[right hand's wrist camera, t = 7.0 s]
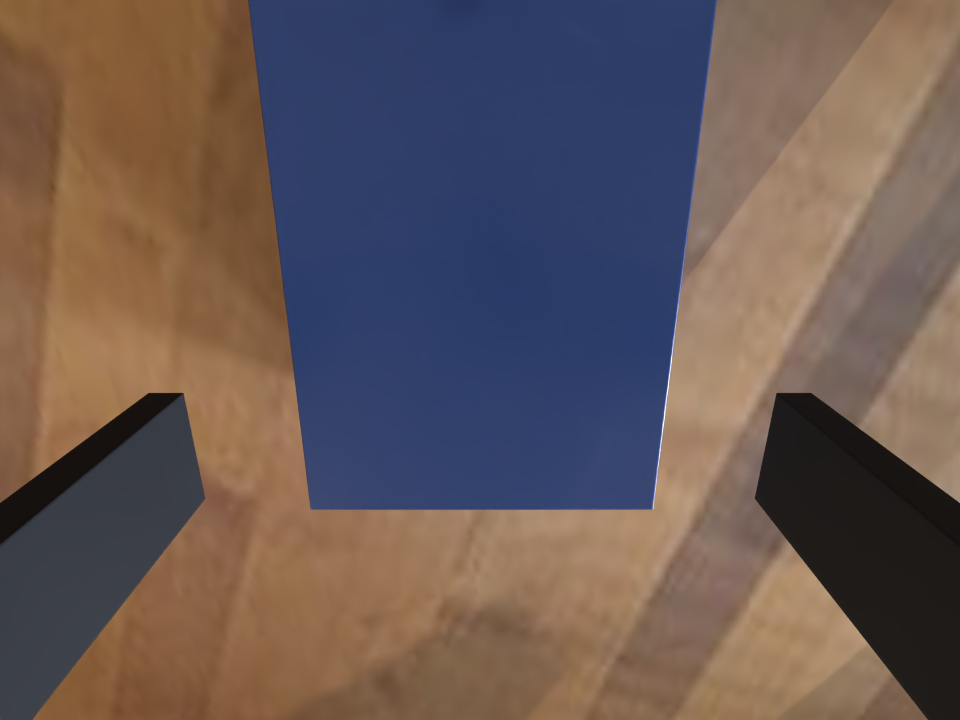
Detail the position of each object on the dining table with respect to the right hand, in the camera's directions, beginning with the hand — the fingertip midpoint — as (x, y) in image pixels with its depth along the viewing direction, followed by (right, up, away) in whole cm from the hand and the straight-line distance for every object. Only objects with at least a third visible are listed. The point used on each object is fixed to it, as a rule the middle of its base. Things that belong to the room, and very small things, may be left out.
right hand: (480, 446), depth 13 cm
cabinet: (0, +8, +9) cm, 12 cm away
